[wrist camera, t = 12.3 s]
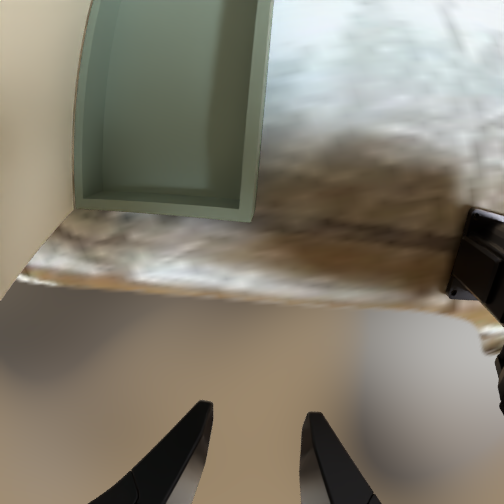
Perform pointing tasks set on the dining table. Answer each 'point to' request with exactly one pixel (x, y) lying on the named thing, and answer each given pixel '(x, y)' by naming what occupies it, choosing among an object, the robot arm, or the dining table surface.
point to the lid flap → (36, 123)
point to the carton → (172, 107)
